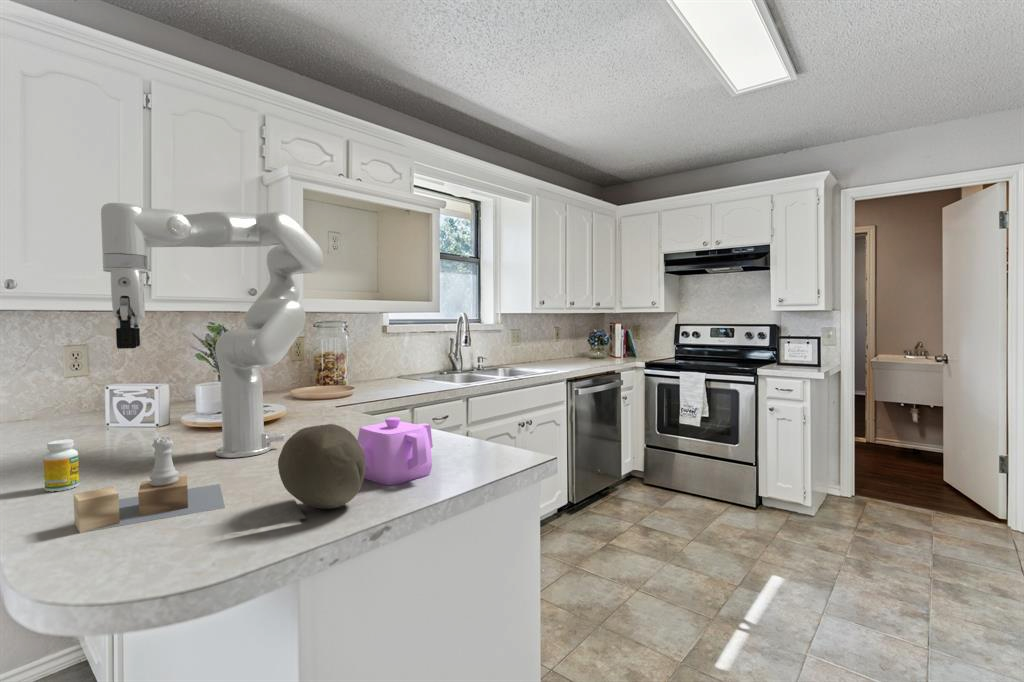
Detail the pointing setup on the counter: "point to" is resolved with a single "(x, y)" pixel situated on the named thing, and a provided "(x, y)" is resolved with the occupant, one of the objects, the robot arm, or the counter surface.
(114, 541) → the counter surface
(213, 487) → the slate mat
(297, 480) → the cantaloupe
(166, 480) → the rook chess piece
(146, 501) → the wooden block
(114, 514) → the oak block
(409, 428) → the teakettle
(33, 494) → the counter surface
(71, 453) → the supplement bottle
